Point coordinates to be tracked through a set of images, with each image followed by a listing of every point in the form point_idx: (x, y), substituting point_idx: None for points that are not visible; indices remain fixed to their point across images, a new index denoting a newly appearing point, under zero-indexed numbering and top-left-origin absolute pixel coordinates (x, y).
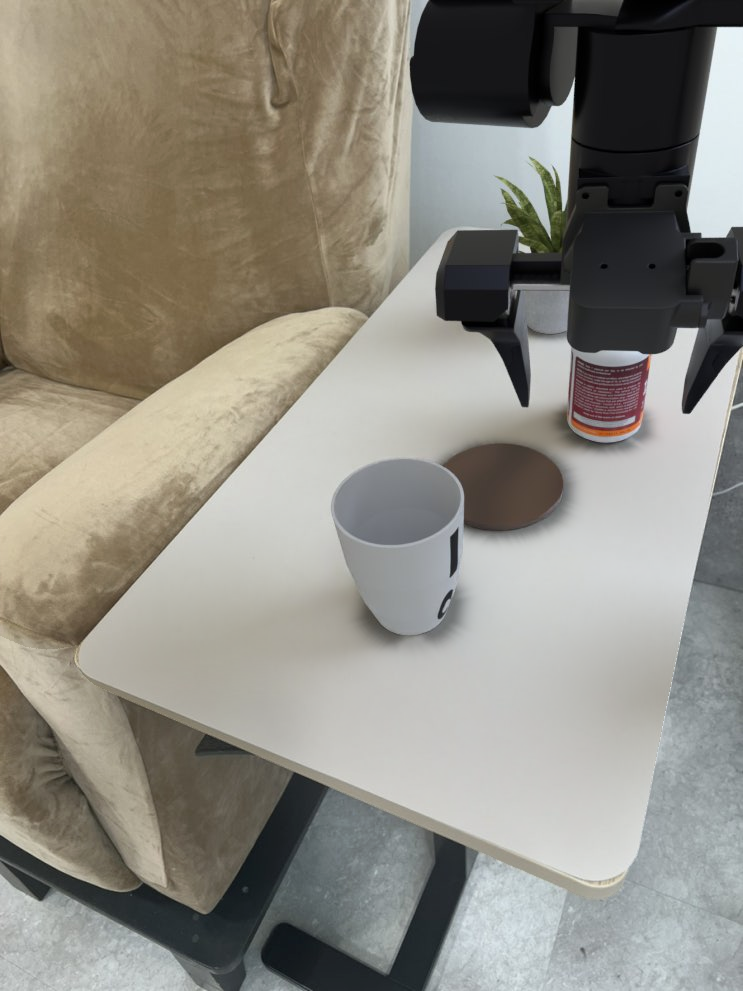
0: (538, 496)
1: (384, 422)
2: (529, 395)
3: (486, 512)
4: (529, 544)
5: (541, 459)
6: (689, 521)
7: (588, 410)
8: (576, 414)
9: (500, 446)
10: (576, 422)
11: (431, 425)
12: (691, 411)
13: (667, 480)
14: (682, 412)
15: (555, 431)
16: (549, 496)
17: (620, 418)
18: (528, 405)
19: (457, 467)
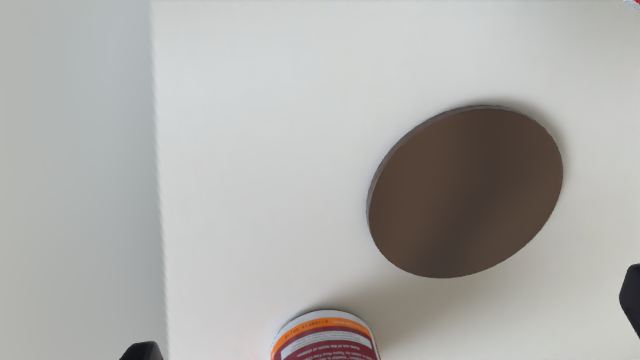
0: (404, 187)
1: None
2: (637, 306)
3: (484, 135)
4: (409, 89)
5: (404, 259)
6: (169, 195)
7: (353, 353)
8: (367, 344)
9: (465, 269)
10: (363, 332)
11: (561, 287)
12: (125, 352)
13: (217, 265)
14: (157, 345)
15: (386, 315)
16: (387, 191)
17: (302, 350)
18: (637, 269)
19: (529, 216)
